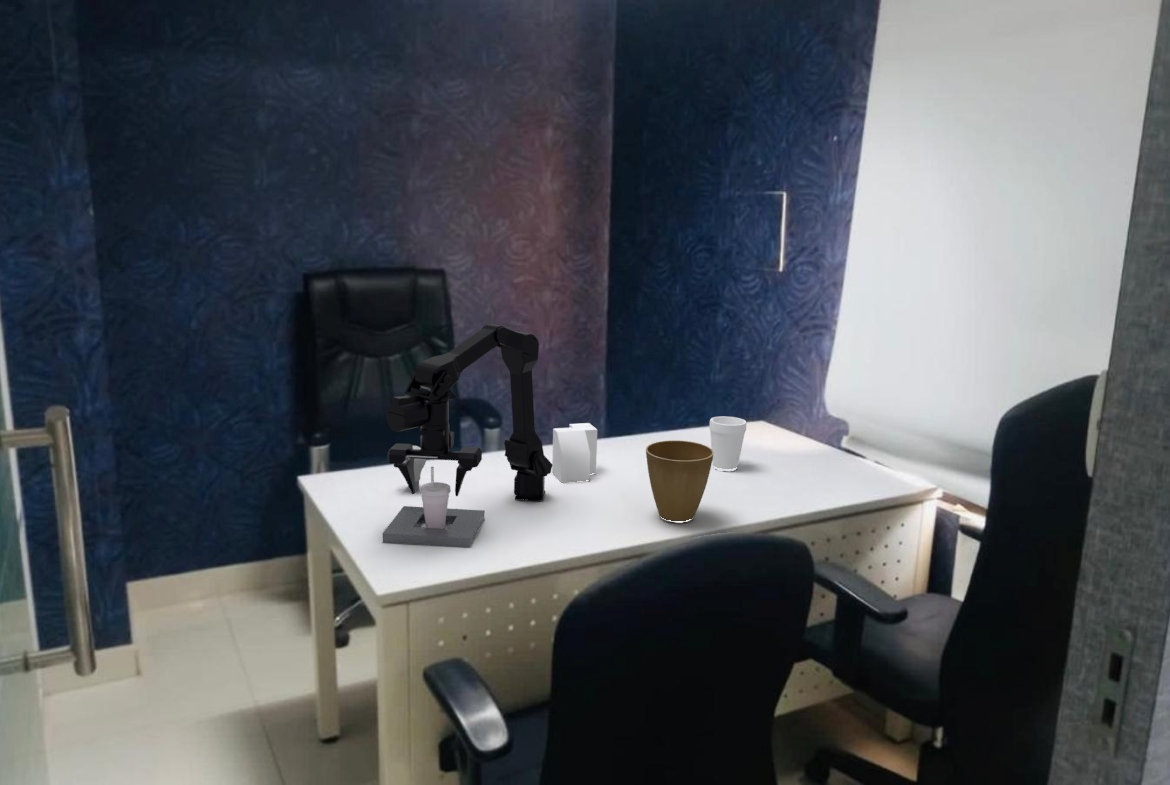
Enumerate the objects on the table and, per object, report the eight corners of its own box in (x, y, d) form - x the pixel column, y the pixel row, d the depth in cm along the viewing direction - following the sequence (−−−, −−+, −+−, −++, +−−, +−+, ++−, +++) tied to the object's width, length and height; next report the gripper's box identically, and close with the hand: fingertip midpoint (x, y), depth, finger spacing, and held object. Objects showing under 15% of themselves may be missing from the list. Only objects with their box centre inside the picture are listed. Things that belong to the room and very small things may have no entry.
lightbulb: (421, 495, 210) (420, 450, 208) (396, 493, 211) (395, 448, 209) (430, 487, 216) (430, 443, 214) (406, 485, 217) (405, 441, 215)
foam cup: (748, 467, 239) (752, 420, 236) (734, 476, 232) (738, 427, 229) (715, 460, 244) (718, 414, 241) (701, 469, 237) (704, 421, 234)
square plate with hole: (484, 519, 197) (484, 510, 196) (470, 547, 181) (470, 538, 181) (403, 514, 198) (403, 506, 198) (382, 542, 182) (382, 533, 182)
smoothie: (421, 524, 192) (420, 462, 189) (451, 524, 193) (451, 462, 190) (418, 536, 186) (417, 471, 183) (450, 536, 187) (449, 471, 184)
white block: (587, 467, 236) (589, 422, 233) (601, 480, 225) (603, 434, 223) (548, 469, 232) (549, 425, 230) (561, 483, 222) (562, 437, 219)
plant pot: (641, 505, 208) (644, 439, 205) (705, 507, 208) (710, 441, 204) (643, 529, 194) (647, 458, 190) (712, 531, 194) (717, 460, 190)
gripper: (486, 414, 192) (486, 484, 195) (400, 410, 193) (401, 480, 196) (476, 428, 181) (476, 501, 184) (385, 424, 182) (387, 497, 186)
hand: (435, 494), depth 188 cm, fingers open, 9 cm apart
